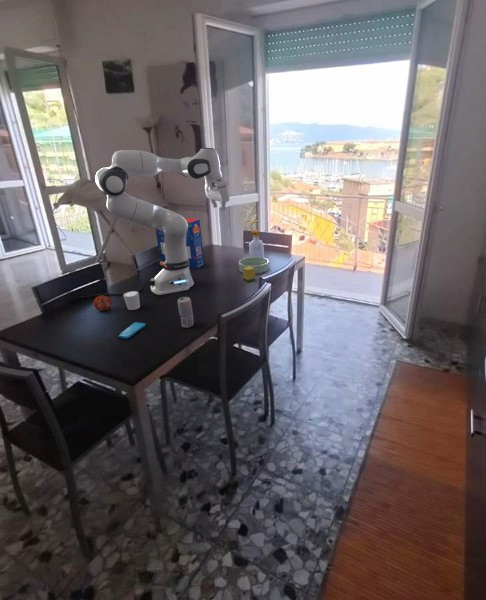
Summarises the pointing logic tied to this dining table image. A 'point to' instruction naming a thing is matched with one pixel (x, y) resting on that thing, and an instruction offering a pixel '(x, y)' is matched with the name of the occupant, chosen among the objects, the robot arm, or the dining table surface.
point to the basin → (255, 264)
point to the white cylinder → (132, 300)
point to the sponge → (131, 330)
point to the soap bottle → (256, 244)
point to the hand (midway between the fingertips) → (219, 208)
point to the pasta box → (187, 244)
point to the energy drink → (185, 312)
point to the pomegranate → (102, 303)
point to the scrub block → (249, 274)
